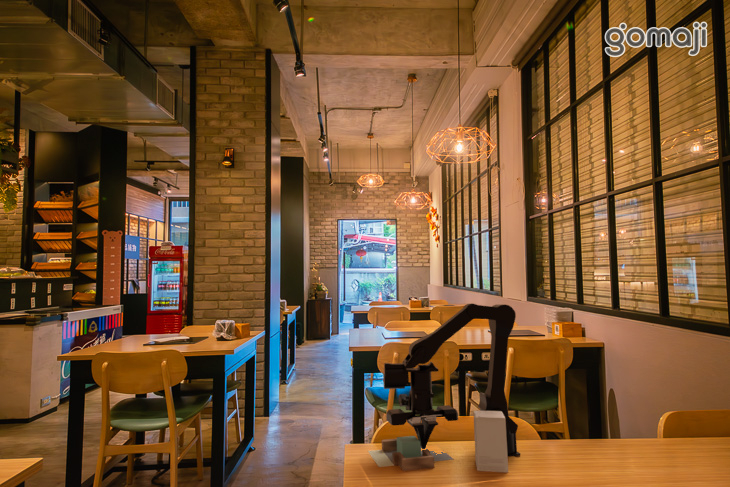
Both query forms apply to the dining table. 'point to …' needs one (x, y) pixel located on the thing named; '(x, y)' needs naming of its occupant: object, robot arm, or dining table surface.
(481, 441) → the supplement box
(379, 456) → the grey board
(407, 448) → the block
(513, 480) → the dining table surface
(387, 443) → the tunnel
